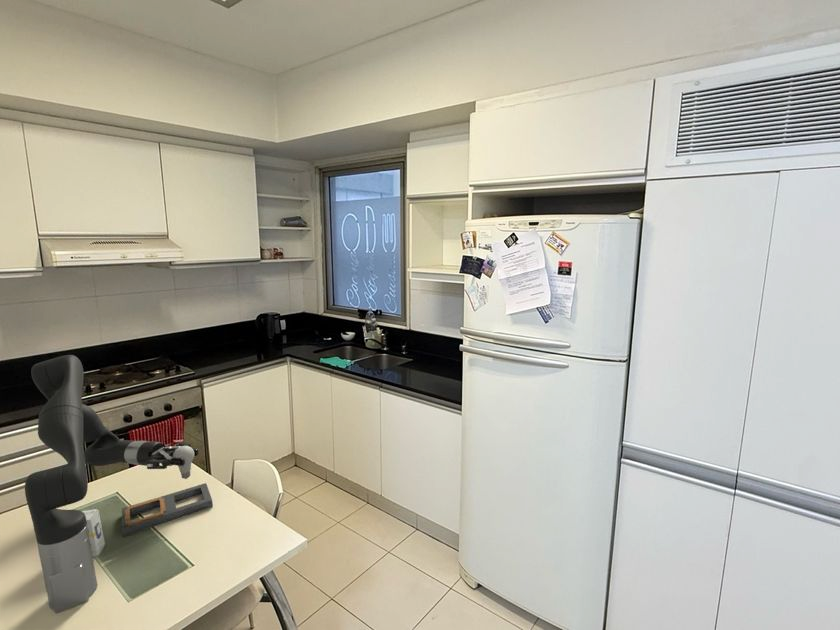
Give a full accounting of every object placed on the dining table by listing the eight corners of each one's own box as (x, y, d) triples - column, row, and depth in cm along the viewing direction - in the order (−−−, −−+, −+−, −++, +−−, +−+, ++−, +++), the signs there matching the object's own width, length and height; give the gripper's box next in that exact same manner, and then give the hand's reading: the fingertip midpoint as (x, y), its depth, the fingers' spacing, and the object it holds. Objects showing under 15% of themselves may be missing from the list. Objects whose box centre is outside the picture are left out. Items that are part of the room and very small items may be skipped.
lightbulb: (171, 482, 135) (166, 450, 133) (186, 472, 141) (182, 441, 139) (186, 485, 134) (182, 452, 132) (201, 474, 139) (197, 443, 137)
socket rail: (212, 506, 138) (212, 499, 137) (123, 536, 124) (121, 528, 124) (206, 489, 147) (206, 482, 147) (123, 515, 134) (121, 507, 134)
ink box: (105, 544, 121) (99, 507, 119) (97, 557, 116) (91, 518, 114) (70, 550, 119) (63, 512, 117) (60, 564, 114) (53, 524, 112)
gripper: (124, 453, 131) (172, 457, 128) (160, 432, 145) (204, 436, 142) (127, 475, 132) (175, 480, 129) (163, 453, 146) (207, 456, 143)
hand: (190, 457), depth 136 cm, fingers closed on lightbulb, 5 cm apart
